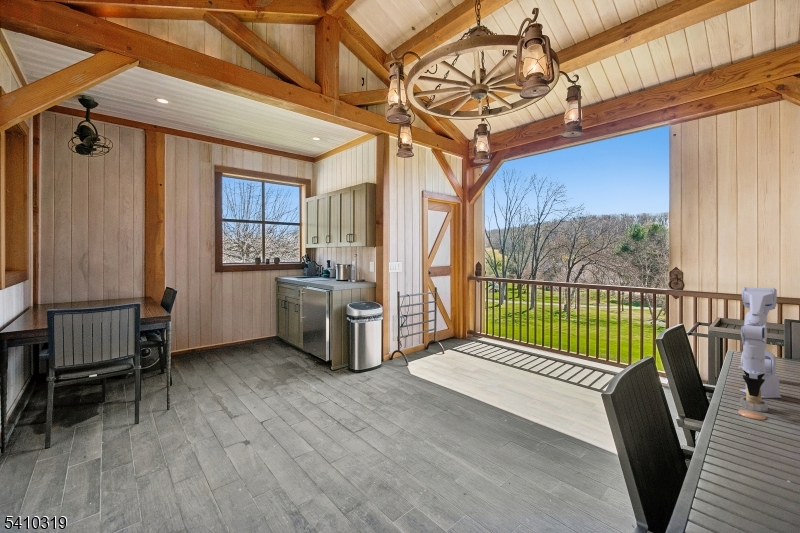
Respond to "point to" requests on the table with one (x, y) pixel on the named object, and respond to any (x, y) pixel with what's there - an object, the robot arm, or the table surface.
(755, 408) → the collar
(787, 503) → the table surface
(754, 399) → the peg
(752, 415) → the coaster
